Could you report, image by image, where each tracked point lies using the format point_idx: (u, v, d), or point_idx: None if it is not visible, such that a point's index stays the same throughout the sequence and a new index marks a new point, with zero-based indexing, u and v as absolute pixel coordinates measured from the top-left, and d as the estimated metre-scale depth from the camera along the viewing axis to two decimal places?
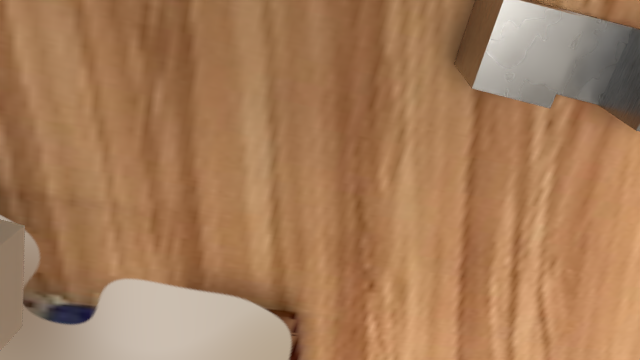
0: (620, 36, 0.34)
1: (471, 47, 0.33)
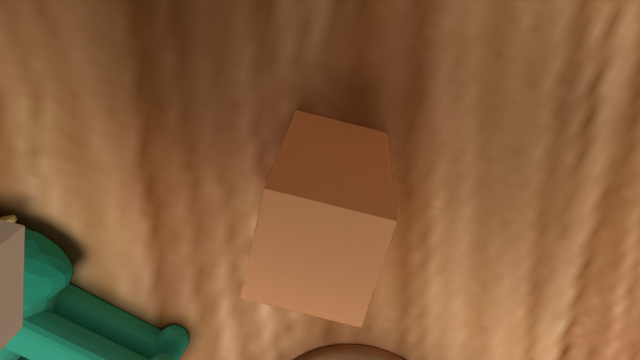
0: None
1: None
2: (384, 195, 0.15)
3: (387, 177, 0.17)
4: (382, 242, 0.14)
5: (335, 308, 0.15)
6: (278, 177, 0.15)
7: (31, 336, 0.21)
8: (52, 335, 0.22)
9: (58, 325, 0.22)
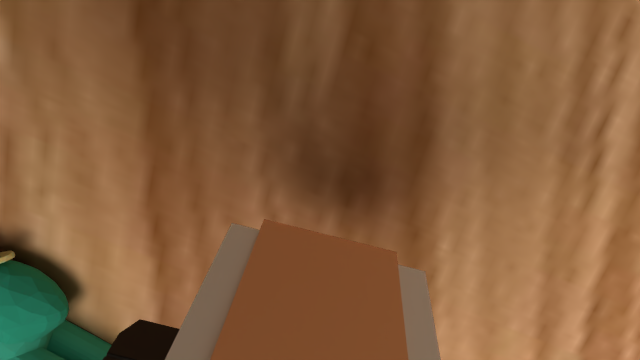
0: None
1: None
2: None
3: None
4: None
5: None
6: None
7: None
8: None
9: None
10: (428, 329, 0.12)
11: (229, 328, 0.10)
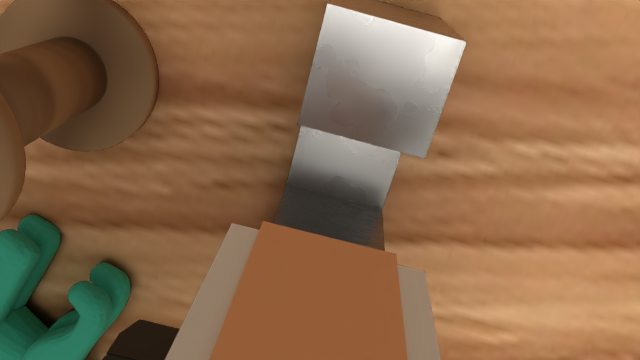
0: None
1: None
2: None
3: None
4: None
5: None
6: None
7: None
8: None
9: None
10: (428, 329, 0.12)
11: (227, 331, 0.10)
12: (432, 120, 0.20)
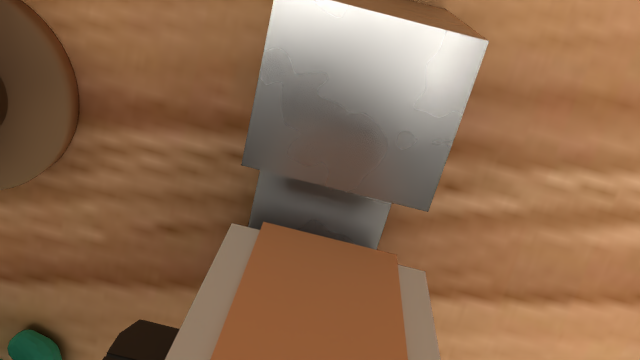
0: None
1: None
2: None
3: None
4: None
5: None
6: None
7: None
8: None
9: None
10: (428, 329, 0.12)
11: (228, 332, 0.10)
12: (438, 157, 0.14)
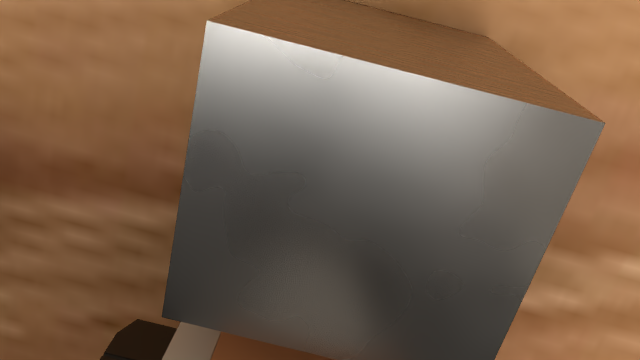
0: None
1: None
2: None
3: None
4: None
5: None
6: None
7: None
8: None
9: None
10: None
11: (225, 339, 0.10)
12: (500, 313, 0.08)
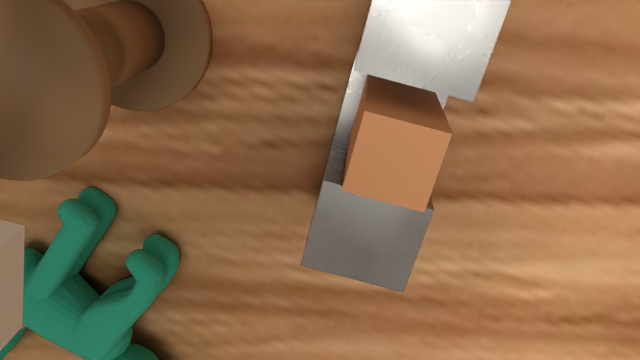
0: None
1: None
2: (441, 121, 0.23)
3: (441, 113, 0.24)
4: (441, 149, 0.22)
5: (407, 198, 0.22)
6: (371, 106, 0.22)
7: (32, 281, 0.32)
8: (35, 269, 0.32)
9: None
10: None
11: (368, 95, 0.24)
12: (481, 64, 0.22)
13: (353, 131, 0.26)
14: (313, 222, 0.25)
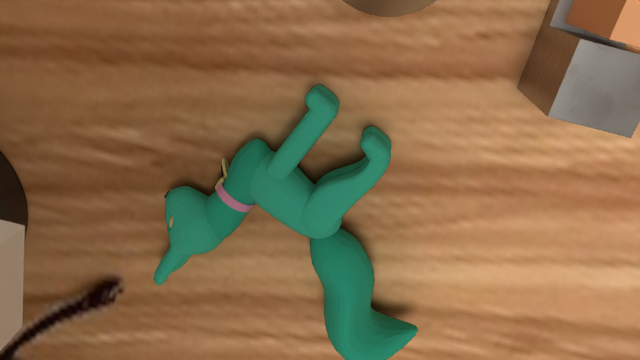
0: None
1: None
2: None
3: None
4: None
5: None
6: None
7: (274, 162, 0.38)
8: (277, 152, 0.38)
9: (277, 150, 0.38)
10: None
11: None
12: None
13: (585, 8, 0.32)
14: (565, 76, 0.31)
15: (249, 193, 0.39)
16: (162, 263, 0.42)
